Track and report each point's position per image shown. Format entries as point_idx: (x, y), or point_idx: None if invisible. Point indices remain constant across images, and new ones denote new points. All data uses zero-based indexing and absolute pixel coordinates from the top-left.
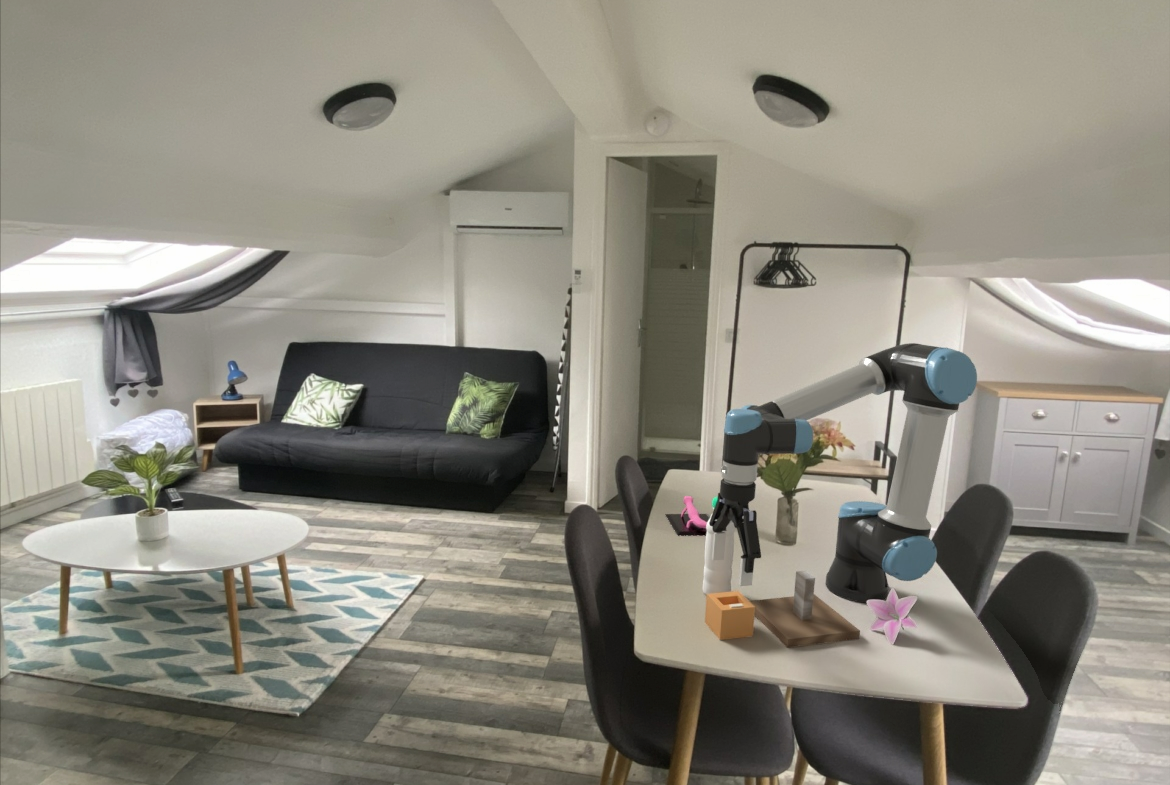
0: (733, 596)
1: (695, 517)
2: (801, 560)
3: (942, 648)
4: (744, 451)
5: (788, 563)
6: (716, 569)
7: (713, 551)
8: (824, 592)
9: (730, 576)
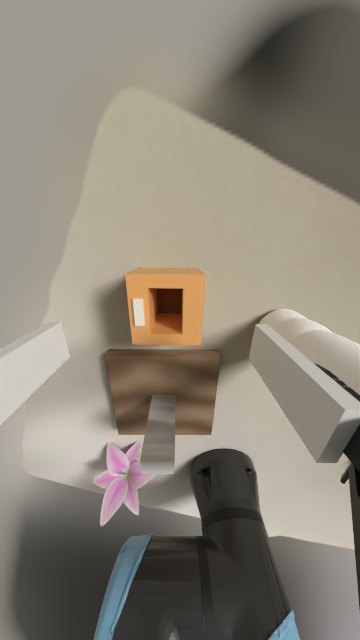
0: (182, 326)
1: None
2: (305, 457)
3: (99, 470)
4: None
5: None
6: (293, 343)
7: (276, 339)
8: (225, 442)
9: None
